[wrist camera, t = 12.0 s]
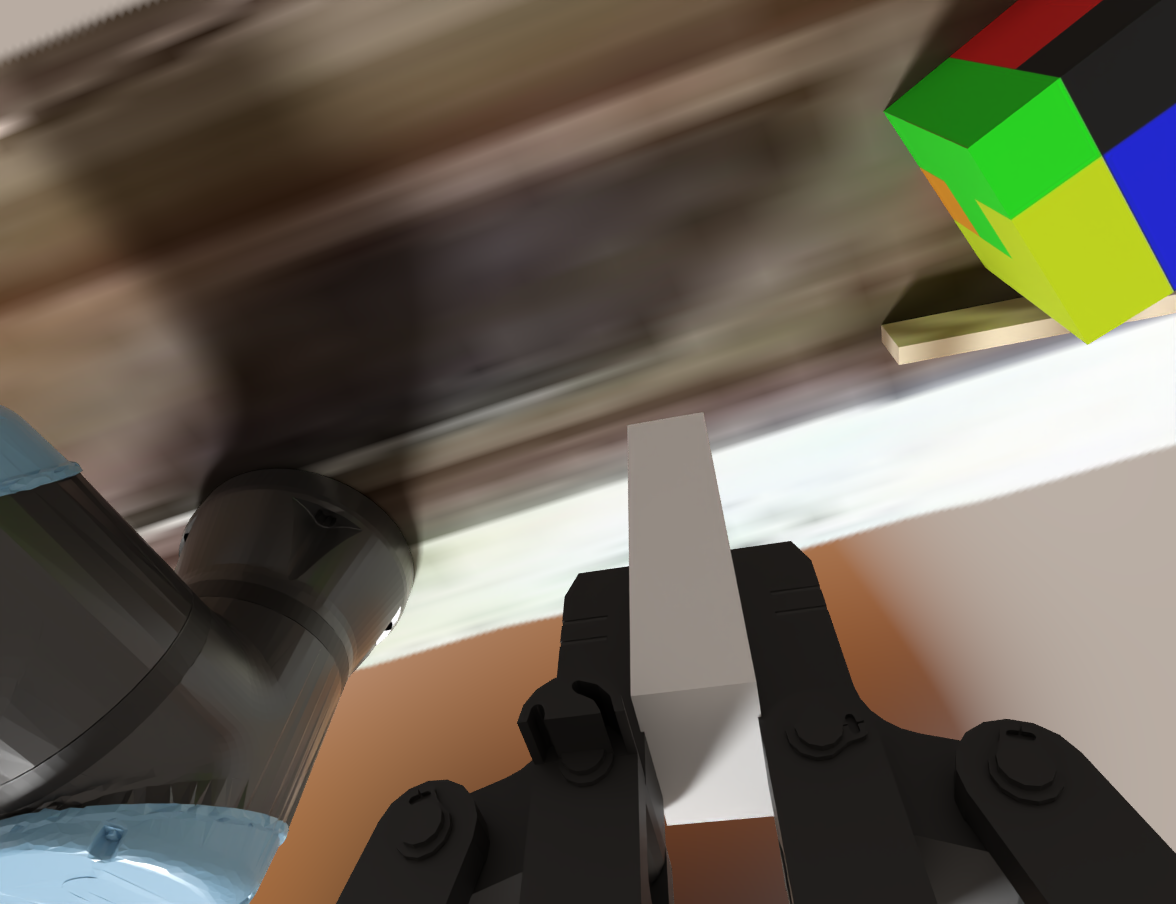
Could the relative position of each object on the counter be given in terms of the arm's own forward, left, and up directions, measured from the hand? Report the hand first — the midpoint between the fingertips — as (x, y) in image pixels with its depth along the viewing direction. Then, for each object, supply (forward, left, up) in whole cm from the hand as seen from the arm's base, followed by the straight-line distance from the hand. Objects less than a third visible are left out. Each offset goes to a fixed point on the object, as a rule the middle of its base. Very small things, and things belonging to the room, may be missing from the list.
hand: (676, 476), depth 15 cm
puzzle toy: (+18, -1, -26) cm, 32 cm away
